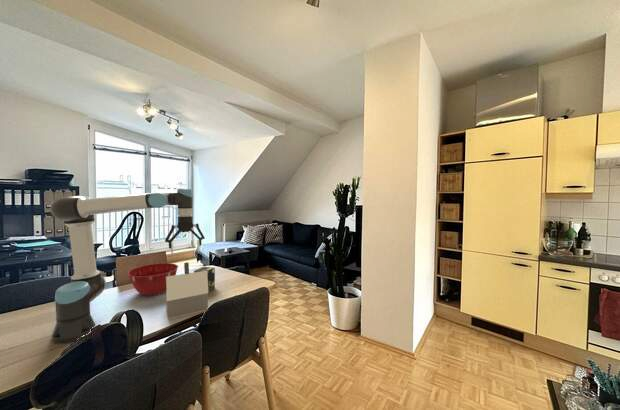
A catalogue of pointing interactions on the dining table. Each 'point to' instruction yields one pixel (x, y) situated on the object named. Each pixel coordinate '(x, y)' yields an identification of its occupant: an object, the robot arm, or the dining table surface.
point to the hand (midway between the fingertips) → (185, 252)
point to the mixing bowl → (152, 278)
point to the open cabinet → (186, 305)
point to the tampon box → (209, 276)
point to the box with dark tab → (186, 284)
